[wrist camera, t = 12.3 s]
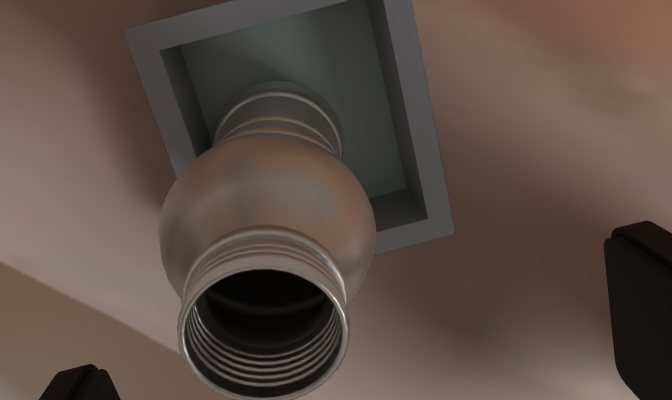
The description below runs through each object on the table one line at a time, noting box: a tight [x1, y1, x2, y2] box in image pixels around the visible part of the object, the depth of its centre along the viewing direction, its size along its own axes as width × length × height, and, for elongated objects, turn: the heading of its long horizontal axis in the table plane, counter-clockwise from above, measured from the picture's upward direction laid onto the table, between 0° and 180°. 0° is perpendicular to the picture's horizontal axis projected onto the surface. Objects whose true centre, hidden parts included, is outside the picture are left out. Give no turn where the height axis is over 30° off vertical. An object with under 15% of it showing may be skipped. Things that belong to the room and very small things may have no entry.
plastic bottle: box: [158, 81, 376, 400], centre depth 21 cm, size 6×7×20 cm
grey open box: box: [122, 0, 455, 256], centre depth 29 cm, size 13×12×6 cm
